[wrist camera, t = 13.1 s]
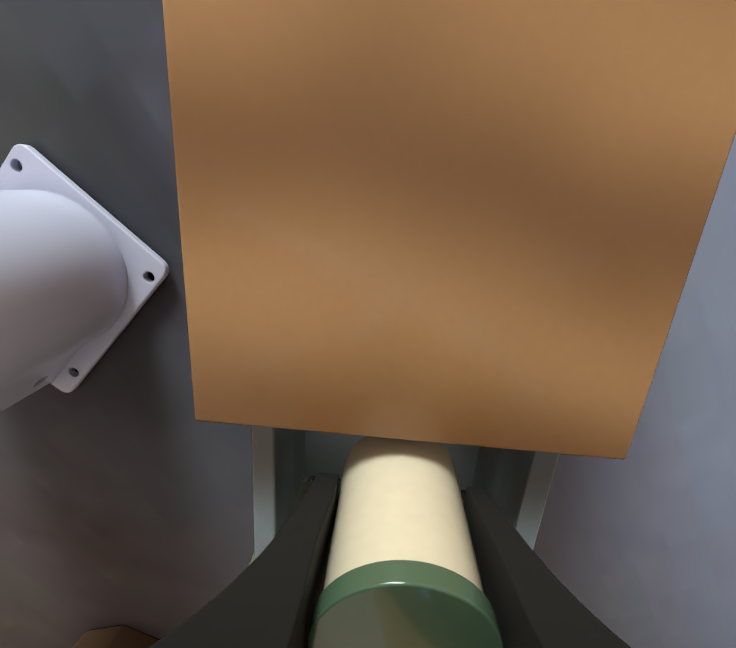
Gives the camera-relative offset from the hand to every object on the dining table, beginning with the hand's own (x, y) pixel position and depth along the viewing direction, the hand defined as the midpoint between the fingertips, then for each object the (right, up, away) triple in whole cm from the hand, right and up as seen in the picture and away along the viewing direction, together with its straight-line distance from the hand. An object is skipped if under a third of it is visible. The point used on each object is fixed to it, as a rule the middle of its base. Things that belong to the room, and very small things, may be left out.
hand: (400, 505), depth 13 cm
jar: (0, 0, +1) cm, 1 cm away
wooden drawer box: (+1, +12, +5) cm, 13 cm away
